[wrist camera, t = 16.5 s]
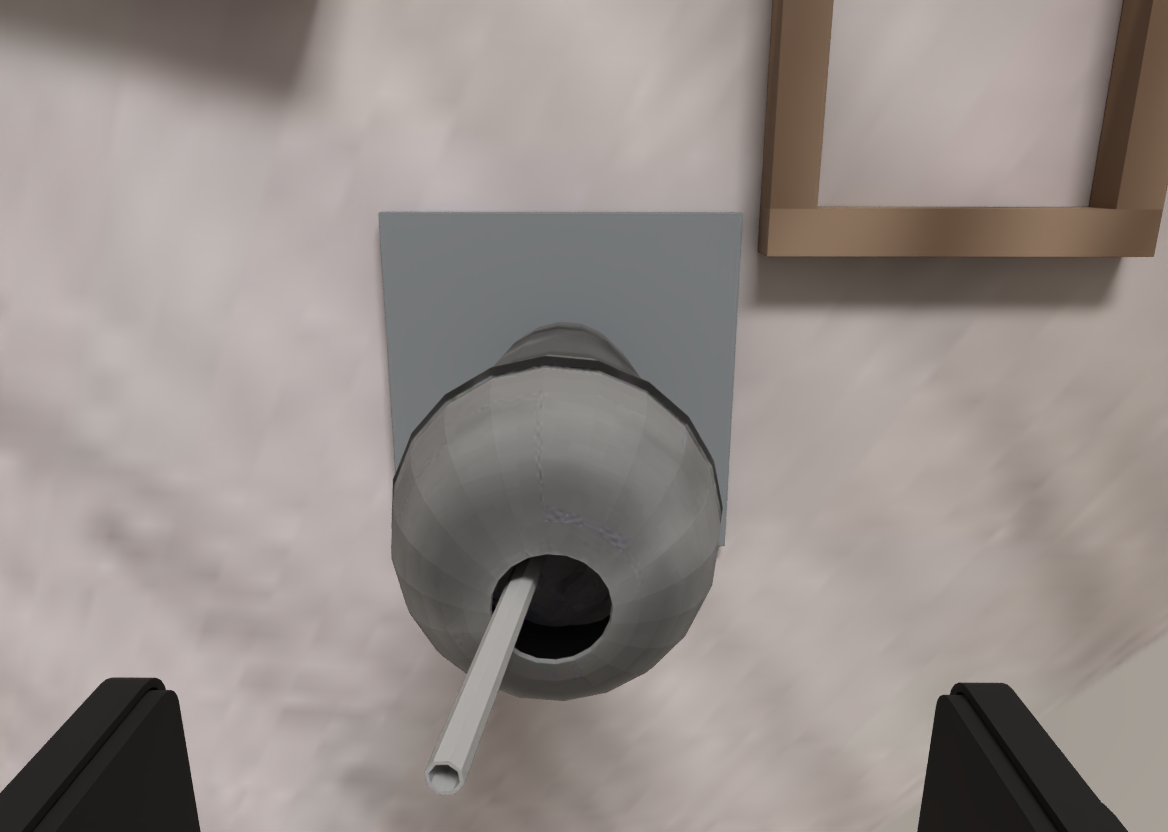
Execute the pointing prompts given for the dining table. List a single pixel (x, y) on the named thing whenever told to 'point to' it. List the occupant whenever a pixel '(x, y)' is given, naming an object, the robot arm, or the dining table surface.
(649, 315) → the slate mat
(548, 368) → the beverage cup
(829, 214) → the frame
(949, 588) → the dining table surface
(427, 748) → the dining table surface
